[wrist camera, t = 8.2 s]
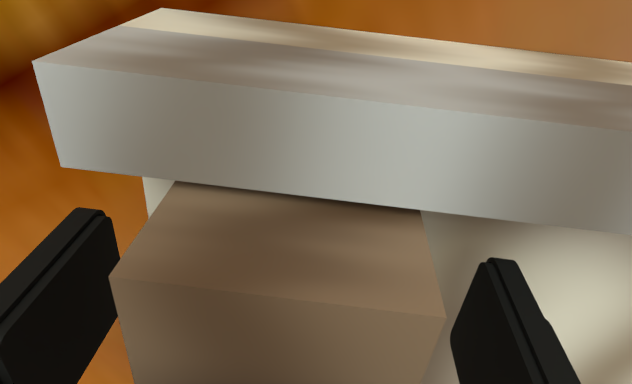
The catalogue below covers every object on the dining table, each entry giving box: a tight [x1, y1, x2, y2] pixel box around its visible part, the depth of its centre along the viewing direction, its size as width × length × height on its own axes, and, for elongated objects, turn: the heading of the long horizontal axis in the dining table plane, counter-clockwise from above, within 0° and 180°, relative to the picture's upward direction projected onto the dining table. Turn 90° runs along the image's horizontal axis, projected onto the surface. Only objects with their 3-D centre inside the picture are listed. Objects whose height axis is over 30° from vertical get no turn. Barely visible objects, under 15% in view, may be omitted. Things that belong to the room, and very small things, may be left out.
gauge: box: [108, 181, 447, 384], centre depth 11 cm, size 5×12×5 cm, turn 174°
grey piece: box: [32, 8, 632, 384], centre depth 13 cm, size 20×16×6 cm
